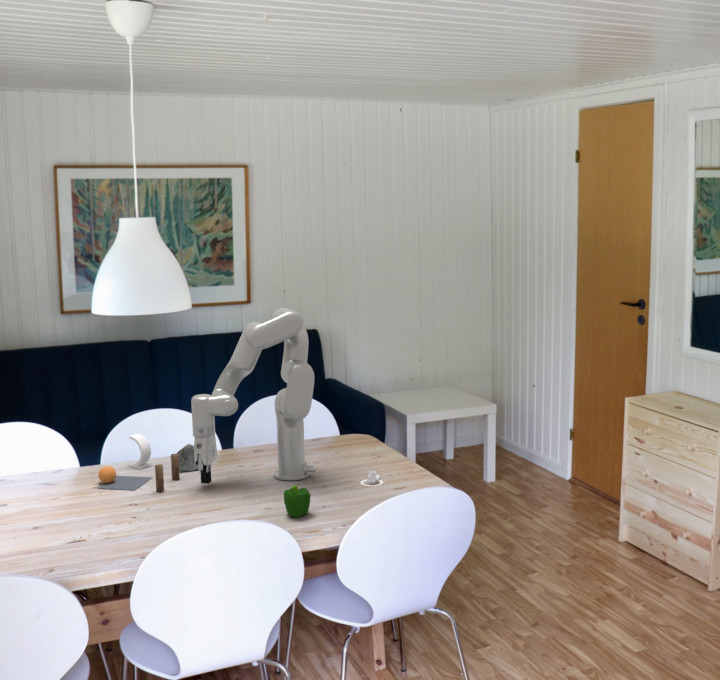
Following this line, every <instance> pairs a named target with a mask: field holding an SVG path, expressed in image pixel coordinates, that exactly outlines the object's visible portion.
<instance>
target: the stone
mask: <svg viewBox="0 0 720 680" xmlns="http://www.w3.org/2000/svg"><path fill="white" fill-rule="evenodd" d="M176 454H178V458H179V473H183V472H190V471H191V472H192V471H196V470H198V465H195V461H194V444H191V443H186V444H185V445H184V446H183V447H182V448H181V449H179V450H178V451H177V452H176Z"/></svg>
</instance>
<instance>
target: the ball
mask: <svg viewBox="0 0 720 680" xmlns="http://www.w3.org/2000/svg"><path fill="white" fill-rule="evenodd" d="M97 476H98V479H99V481H100V483H101V482H102V483H103V484H104V483H111V482H113V481H114V480H115V478H116V476H117V471H116V469H115V468H114V467H112V466H110V465H106V466H102V468H100V469H99V471H98V475H97Z"/></svg>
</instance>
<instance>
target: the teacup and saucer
mask: <svg viewBox="0 0 720 680" xmlns="http://www.w3.org/2000/svg"><path fill="white" fill-rule="evenodd" d="M366 475H367V479H363V480H361V481H360V485H362V486H365V487H379V486H381V485H383V484H384V481H383V480H382V479H381V475H379V474H377V471H373V470H371V471H367V473H366ZM366 482H368V483H369V484H365V483H366ZM376 482H379V483H378V484H376Z"/></svg>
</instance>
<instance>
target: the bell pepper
mask: <svg viewBox="0 0 720 680" xmlns="http://www.w3.org/2000/svg"><path fill="white" fill-rule="evenodd" d="M283 502H284V507H285V509H286V513H287V514H288V515H289V516H290V517H291V518H301V517H303V516H305V515H307V514H308V513H309V508H310V505H311V493H310V491H309V490H308V489H307V488H306V487H302V488H298V485H296V484H294V485H292V486H291V487H290V488H289V489H284V492H283Z"/></svg>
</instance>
